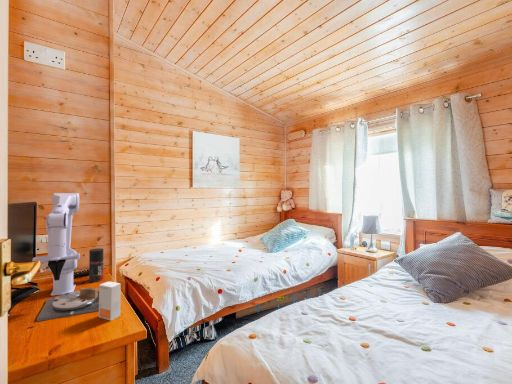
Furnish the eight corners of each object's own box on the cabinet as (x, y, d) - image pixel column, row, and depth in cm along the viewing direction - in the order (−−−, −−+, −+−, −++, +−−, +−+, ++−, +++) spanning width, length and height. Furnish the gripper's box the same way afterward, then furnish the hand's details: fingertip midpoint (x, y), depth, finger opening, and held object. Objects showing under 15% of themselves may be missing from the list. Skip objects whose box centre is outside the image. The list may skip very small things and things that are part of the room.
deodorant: (96, 282, 129) (97, 251, 129) (86, 281, 130) (86, 250, 130) (106, 278, 135) (106, 248, 135) (95, 277, 136) (96, 248, 136)
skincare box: (98, 318, 96) (98, 284, 96) (108, 312, 100) (108, 280, 100) (111, 321, 94) (111, 287, 93) (121, 315, 98) (121, 283, 97)
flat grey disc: (42, 310, 98) (42, 295, 98) (70, 294, 112) (70, 281, 112) (84, 311, 98) (84, 296, 98) (106, 295, 112) (106, 282, 112)
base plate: (47, 301, 108) (47, 298, 108) (104, 292, 118) (104, 290, 118) (36, 323, 92) (36, 319, 92) (103, 311, 101) (103, 308, 101)
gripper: (30, 248, 97) (30, 286, 97) (78, 245, 103) (78, 280, 104) (35, 244, 103) (35, 279, 103) (80, 241, 110) (80, 274, 110)
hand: (57, 279), depth 104 cm, fingers closed
